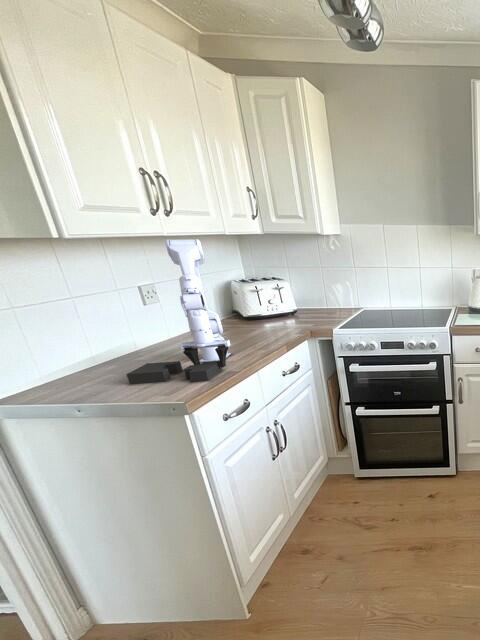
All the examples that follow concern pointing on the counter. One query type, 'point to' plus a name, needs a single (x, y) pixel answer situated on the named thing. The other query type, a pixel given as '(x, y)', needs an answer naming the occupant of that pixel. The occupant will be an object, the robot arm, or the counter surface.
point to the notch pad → (154, 372)
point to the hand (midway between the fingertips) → (211, 367)
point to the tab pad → (203, 371)
